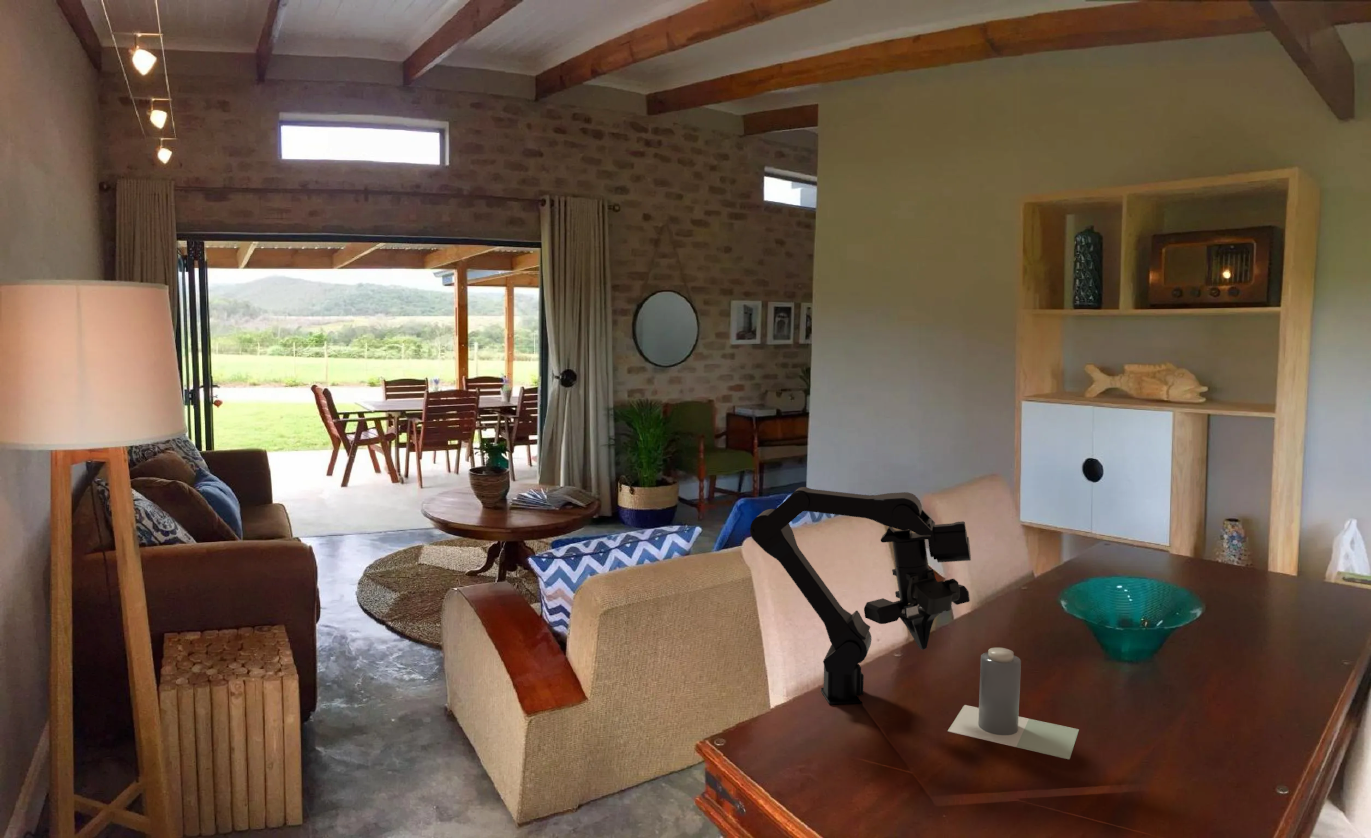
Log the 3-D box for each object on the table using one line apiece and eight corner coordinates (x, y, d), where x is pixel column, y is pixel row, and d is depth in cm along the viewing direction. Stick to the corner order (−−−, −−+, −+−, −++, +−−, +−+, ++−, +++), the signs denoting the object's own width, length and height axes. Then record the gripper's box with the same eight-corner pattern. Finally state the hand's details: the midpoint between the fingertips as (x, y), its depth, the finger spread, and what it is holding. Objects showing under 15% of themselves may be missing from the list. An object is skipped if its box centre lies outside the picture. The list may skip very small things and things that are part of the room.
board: (947, 735, 149) (947, 730, 149) (964, 709, 159) (964, 704, 159) (1069, 763, 139) (1069, 759, 139) (1078, 733, 149) (1079, 729, 149)
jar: (988, 736, 147) (991, 659, 145) (971, 719, 153) (974, 645, 152) (1025, 734, 147) (1028, 658, 146) (1007, 717, 154) (1010, 644, 152)
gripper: (890, 583, 147) (903, 674, 148) (983, 560, 153) (995, 647, 154) (857, 571, 158) (868, 656, 159) (945, 550, 164) (956, 632, 164)
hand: (922, 648), depth 159 cm, fingers closed
